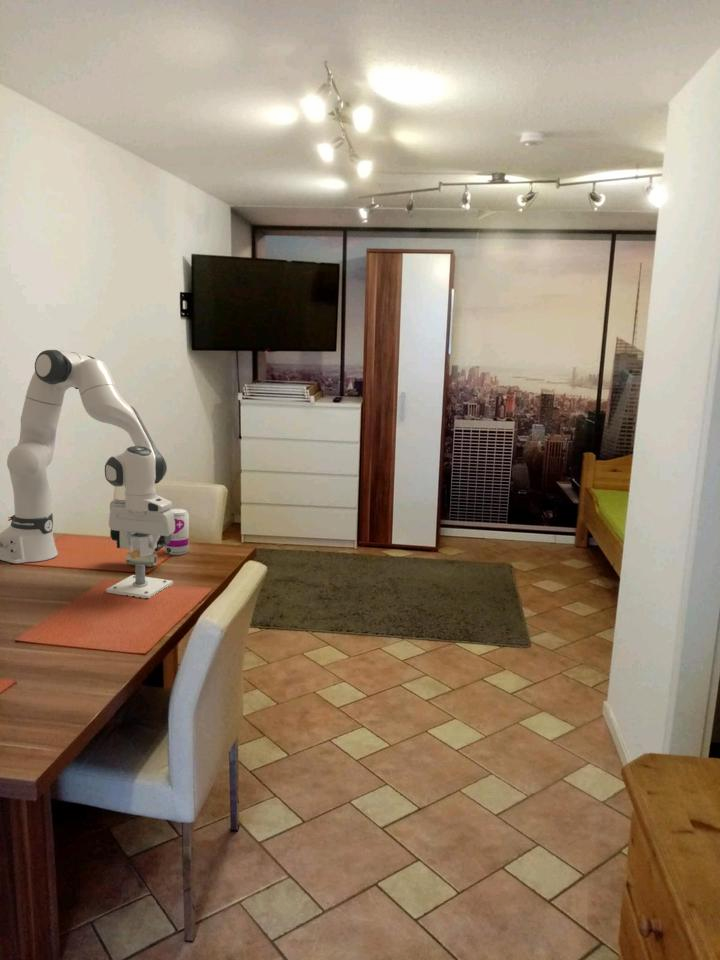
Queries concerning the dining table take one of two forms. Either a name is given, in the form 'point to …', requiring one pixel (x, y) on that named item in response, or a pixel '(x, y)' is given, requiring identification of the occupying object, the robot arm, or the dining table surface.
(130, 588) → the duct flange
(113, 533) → the ball valve
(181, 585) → the dining table surface
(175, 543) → the supplement can
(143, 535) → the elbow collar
